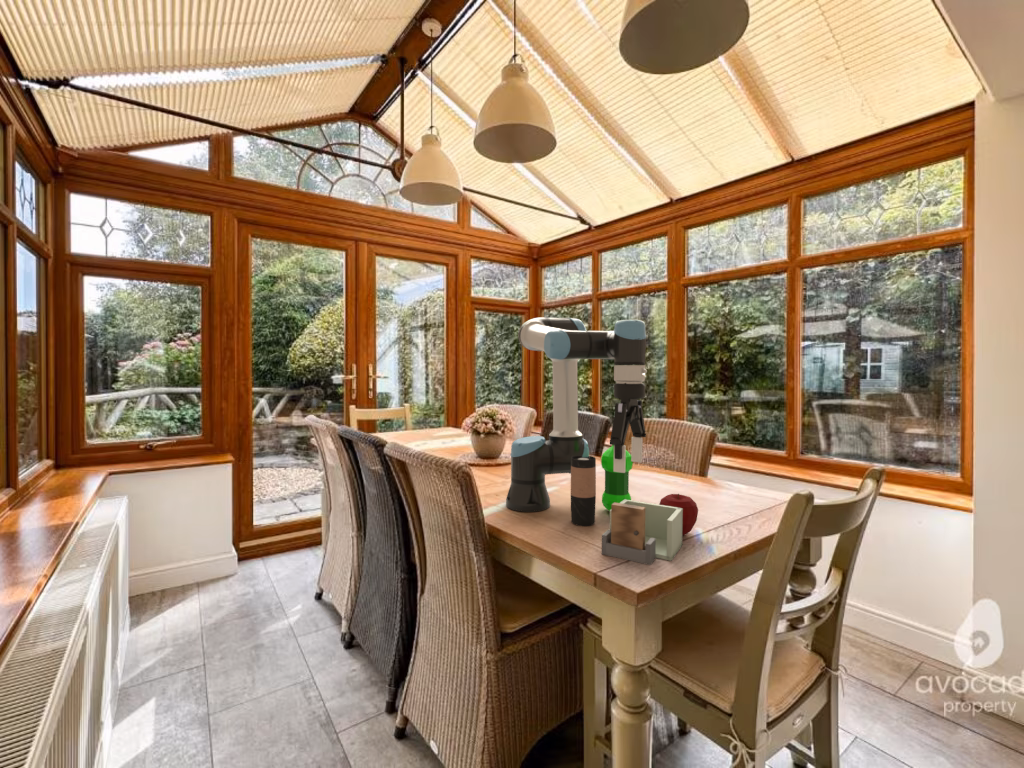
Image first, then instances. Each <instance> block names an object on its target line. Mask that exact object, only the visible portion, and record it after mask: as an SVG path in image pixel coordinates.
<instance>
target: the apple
mask: <svg viewBox="0 0 1024 768" xmlns="http://www.w3.org/2000/svg"><path fill="white" fill-rule="evenodd" d="M658 505H665V506H671V507H678V508H683V532H682V537H683V536H686V535H688V534H689V533H690V532H691V531H692V529H694V526H695V525H696V523H697V520H698V513H699V508H698V505H697V503H696V501H695V500H693V499H692V497H691V496H687V495H684V494H680V493H670V494H667V495H665V496H664V497H662V498H661V499H660V501H659V504H658Z"/></svg>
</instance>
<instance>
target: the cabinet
mask: <svg viewBox="0 0 1024 768" xmlns="http://www.w3.org/2000/svg"><path fill="white" fill-rule="evenodd" d="M620 503H621V504H628V505H634V506H641V507H645V550H641V549H636V548H631V547H626V546H622V545H617V544H612V543H611V510H610V512H609V529H607V530H606V531H605V532H604V533H602V534H601V555H603V556H608V557H613V558H616V559H617V558H618V559H621V560H622V559H623V560H626V561H630V562H631V561H632V562H636V563H640V564H645V565H649V566H651V565H652V564H653V562H654V561H655V559H660V560H665V561H671V562H672V561H673V560H674V558H675V556H676V555H677V553H678V552H679V551H680V550H681V548H682V546H683V536H682V532H683V508H678V507H671V506H665V505H659V504H657V503H652V502H643V501H639V500H632V499H631V500H626V499H624V500H623V501H622V502H620Z"/></svg>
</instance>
